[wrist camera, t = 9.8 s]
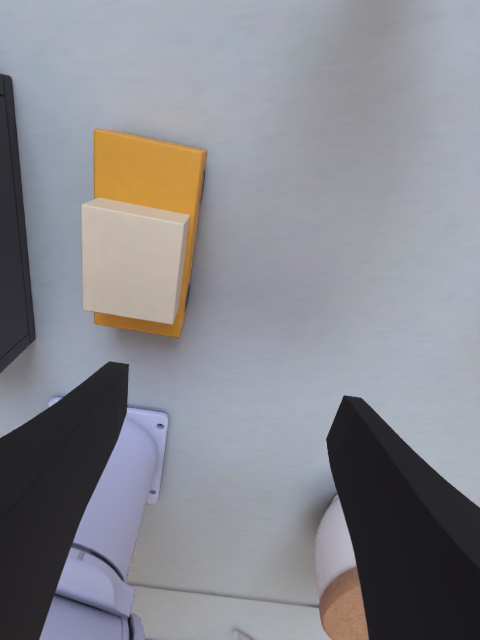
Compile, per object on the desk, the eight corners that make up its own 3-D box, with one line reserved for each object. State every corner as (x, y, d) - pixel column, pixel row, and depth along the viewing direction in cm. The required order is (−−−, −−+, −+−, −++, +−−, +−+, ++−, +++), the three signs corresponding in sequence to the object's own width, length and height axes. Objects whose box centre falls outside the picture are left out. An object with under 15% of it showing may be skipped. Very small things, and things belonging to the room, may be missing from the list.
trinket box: (459, 473, 27) (558, 622, 19) (395, 550, 32) (451, 696, 23) (331, 447, 26) (375, 595, 17) (284, 531, 30) (301, 679, 22)
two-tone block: (186, 315, 21) (173, 358, 17) (111, 302, 20) (78, 343, 16) (208, 149, 16) (198, 153, 12) (114, 130, 16) (73, 126, 12)
